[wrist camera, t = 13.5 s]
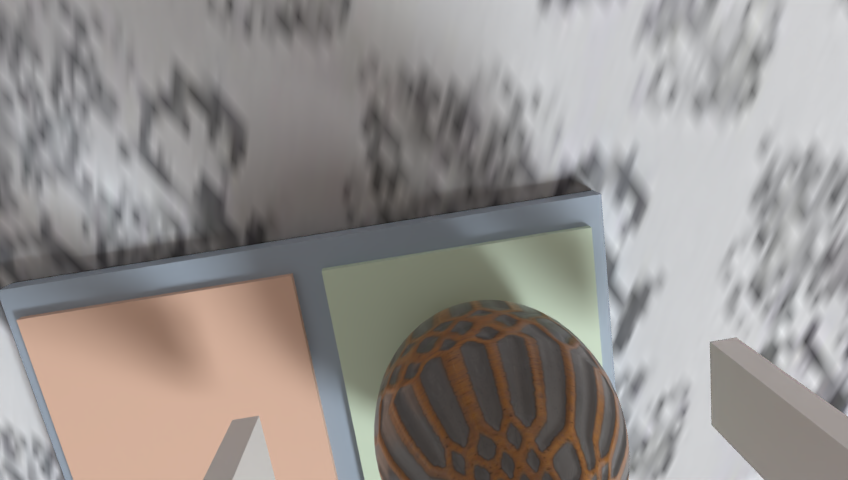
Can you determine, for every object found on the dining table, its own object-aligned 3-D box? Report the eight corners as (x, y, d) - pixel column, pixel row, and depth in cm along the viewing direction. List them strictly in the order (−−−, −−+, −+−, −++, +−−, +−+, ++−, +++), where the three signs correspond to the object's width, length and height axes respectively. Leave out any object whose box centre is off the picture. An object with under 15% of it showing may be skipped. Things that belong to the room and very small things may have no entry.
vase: (437, 486, 21) (469, 759, 12) (339, 335, 19) (296, 527, 10) (606, 399, 20) (763, 619, 12) (521, 237, 18) (631, 354, 10)
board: (13, 283, 19) (-17, 296, 18) (592, 190, 19) (607, 197, 18) (106, 549, 22) (87, 579, 20) (613, 464, 22) (628, 488, 21)
